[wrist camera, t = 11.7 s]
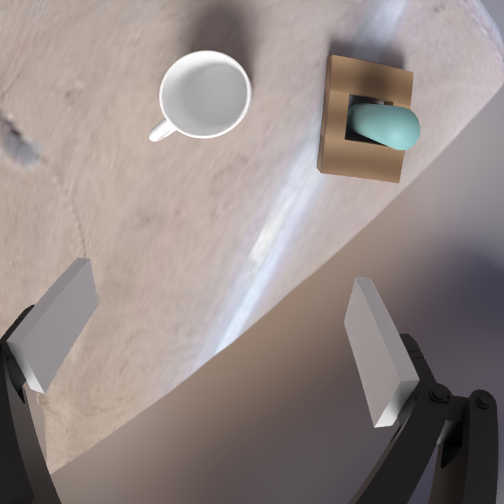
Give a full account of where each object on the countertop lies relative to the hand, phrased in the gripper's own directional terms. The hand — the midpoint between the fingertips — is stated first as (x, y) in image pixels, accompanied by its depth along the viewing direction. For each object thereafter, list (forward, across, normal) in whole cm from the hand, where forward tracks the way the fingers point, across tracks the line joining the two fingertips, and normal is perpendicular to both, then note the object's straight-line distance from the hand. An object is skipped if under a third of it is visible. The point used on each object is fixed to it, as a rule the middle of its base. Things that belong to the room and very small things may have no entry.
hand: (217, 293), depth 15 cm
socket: (+27, +14, +8) cm, 31 cm away
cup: (+27, -5, +8) cm, 29 cm away
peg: (+27, +14, +8) cm, 31 cm away
